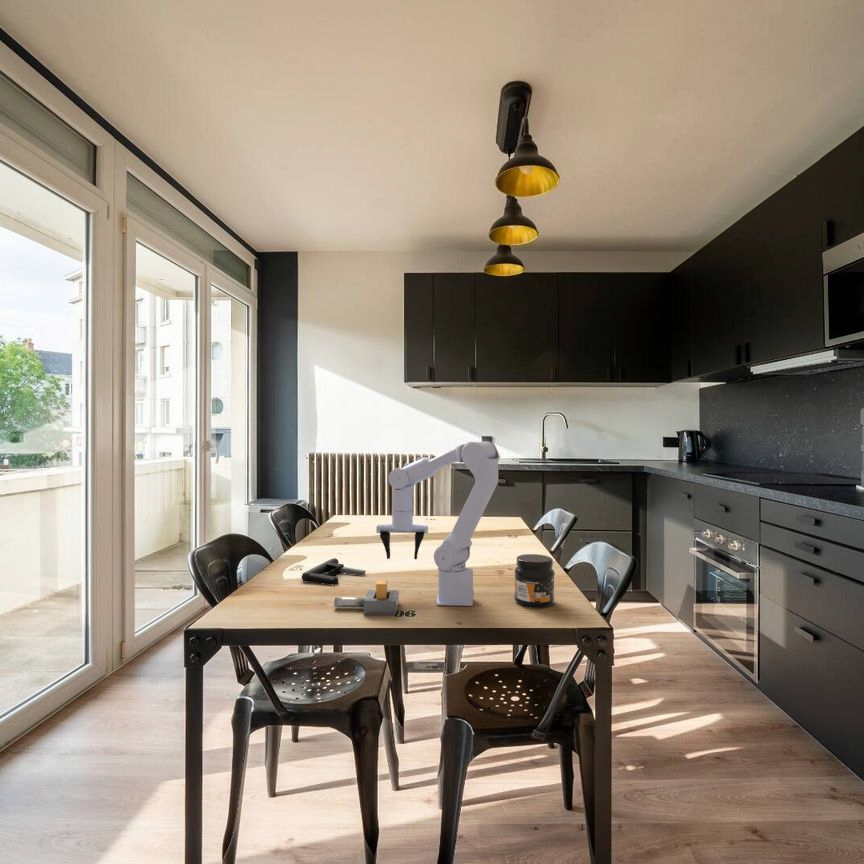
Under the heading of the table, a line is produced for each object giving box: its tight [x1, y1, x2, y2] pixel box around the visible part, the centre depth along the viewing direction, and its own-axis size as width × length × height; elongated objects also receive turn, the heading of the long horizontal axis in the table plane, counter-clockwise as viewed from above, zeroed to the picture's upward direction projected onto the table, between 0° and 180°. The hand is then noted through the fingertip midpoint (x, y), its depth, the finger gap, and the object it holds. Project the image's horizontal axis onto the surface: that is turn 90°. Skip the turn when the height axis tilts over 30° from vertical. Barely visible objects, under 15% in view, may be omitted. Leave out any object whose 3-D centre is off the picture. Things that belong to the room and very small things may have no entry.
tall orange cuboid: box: [375, 579, 388, 599], centre depth 142 cm, size 2×4×7 cm, turn 179°
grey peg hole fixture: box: [333, 589, 400, 616], centre depth 142 cm, size 16×9×4 cm, turn 89°
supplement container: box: [514, 553, 556, 609], centre depth 148 cm, size 10×10×12 cm
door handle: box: [301, 557, 366, 586], centre depth 172 cm, size 3×20×16 cm
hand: (402, 558), depth 157 cm, fingers open, 7 cm apart
